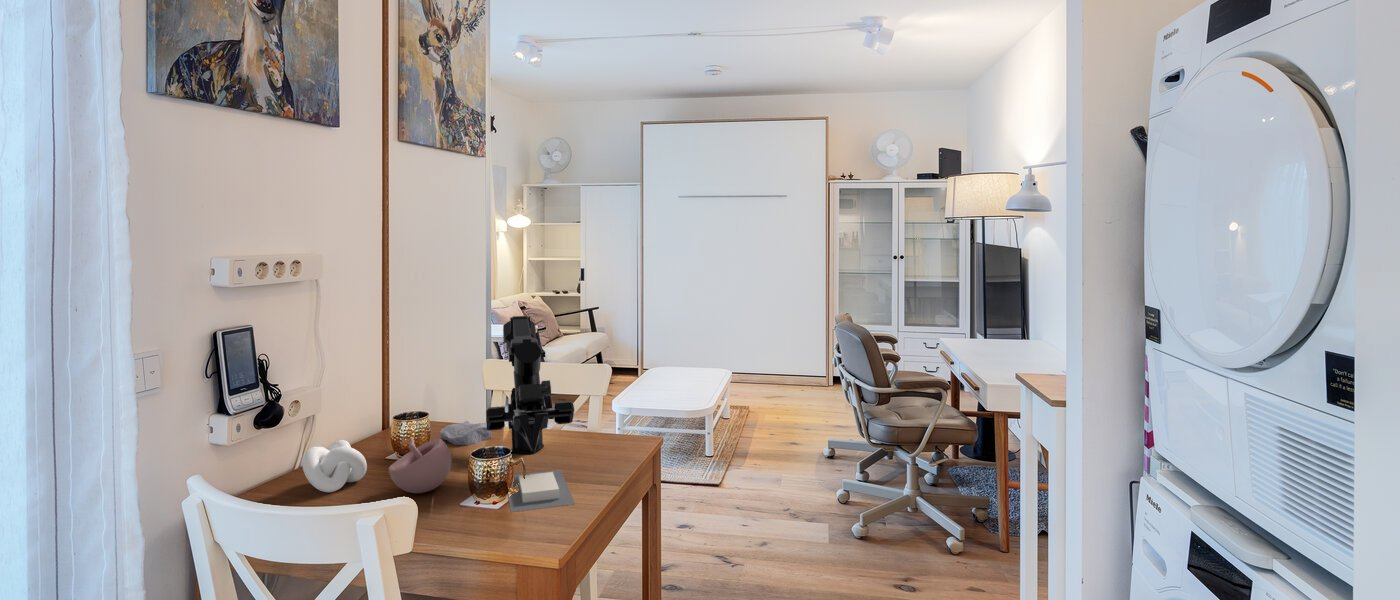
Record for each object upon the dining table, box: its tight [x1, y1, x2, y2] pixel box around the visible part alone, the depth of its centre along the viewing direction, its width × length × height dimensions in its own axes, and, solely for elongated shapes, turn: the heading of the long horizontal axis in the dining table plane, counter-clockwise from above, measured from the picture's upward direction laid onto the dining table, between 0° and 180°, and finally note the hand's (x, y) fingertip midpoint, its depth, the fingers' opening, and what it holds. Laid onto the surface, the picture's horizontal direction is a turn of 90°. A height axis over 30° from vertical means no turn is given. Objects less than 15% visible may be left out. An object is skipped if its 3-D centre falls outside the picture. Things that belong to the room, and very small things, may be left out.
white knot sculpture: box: [301, 439, 368, 493], centre depth 148 cm, size 11×12×9 cm
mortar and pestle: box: [388, 437, 453, 494], centre depth 143 cm, size 12×12×12 cm
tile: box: [519, 472, 559, 503], centre depth 141 cm, size 2×7×11 cm
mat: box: [507, 469, 576, 513], centre depth 143 cm, size 22×12×1 cm, turn 18°
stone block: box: [439, 420, 493, 446], centre depth 182 cm, size 12×5×10 cm
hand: (533, 449), depth 149 cm, fingers closed
